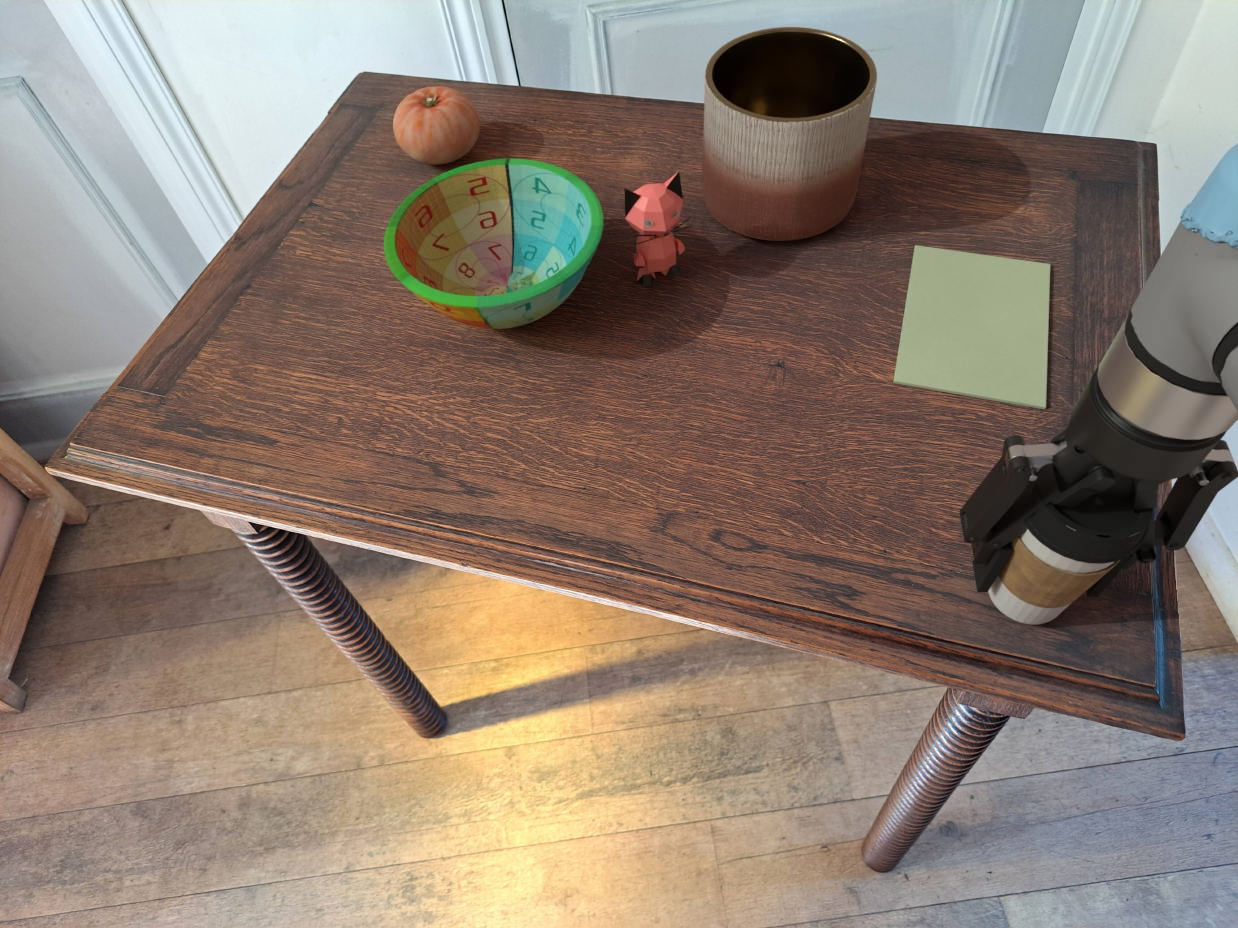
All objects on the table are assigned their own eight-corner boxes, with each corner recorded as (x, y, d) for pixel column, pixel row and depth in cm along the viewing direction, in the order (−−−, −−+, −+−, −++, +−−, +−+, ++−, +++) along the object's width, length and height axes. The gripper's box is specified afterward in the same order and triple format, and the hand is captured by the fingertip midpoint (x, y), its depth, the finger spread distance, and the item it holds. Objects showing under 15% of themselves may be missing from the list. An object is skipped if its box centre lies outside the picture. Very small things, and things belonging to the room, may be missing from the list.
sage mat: (1044, 409, 81) (1046, 407, 80) (893, 383, 84) (893, 380, 83) (1049, 266, 91) (1050, 263, 91) (914, 247, 94) (915, 245, 94)
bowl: (583, 388, 86) (572, 317, 78) (379, 360, 90) (348, 291, 82) (630, 240, 98) (625, 165, 90) (448, 221, 102) (427, 149, 94)
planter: (688, 239, 98) (688, 115, 85) (715, 145, 107) (719, 20, 94) (847, 256, 94) (872, 130, 81) (860, 157, 104) (884, 30, 91)
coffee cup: (974, 632, 68) (1035, 536, 56) (967, 541, 72) (1022, 434, 60) (1087, 646, 66) (1175, 551, 54) (1073, 552, 71) (1151, 445, 59)
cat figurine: (638, 299, 93) (632, 210, 83) (615, 260, 96) (606, 170, 87) (697, 279, 94) (698, 189, 84) (672, 242, 98) (670, 150, 88)
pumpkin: (478, 178, 107) (465, 121, 100) (394, 180, 108) (375, 123, 101) (491, 126, 113) (479, 69, 106) (411, 128, 114) (394, 71, 107)
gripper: (1329, 348, 50) (1157, 542, 69) (969, 343, 52) (896, 533, 71) (1384, 450, 46) (1184, 629, 65) (989, 441, 48) (906, 616, 67)
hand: (1033, 578), depth 68 cm, fingers closed on coffee cup, 8 cm apart
